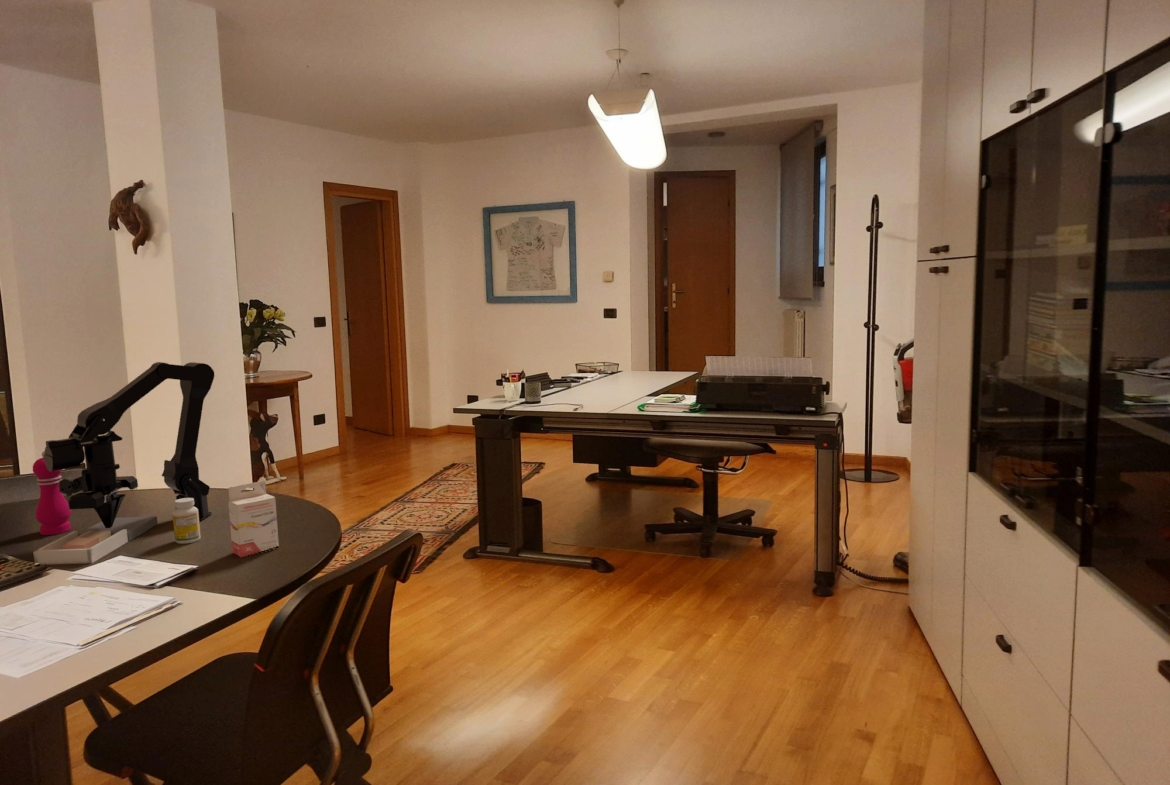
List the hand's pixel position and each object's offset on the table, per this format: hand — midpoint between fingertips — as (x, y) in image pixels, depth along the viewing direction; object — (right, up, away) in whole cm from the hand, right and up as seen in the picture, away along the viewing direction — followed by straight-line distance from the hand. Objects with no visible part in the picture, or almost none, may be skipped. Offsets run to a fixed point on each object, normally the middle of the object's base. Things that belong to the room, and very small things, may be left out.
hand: (108, 527), depth 186 cm
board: (0, -2, +4) cm, 5 cm away
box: (0, -4, -10) cm, 10 cm away
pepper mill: (-17, -2, +7) cm, 19 cm away
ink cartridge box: (+39, -3, -11) cm, 41 cm away
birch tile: (0, -3, -5) cm, 6 cm away
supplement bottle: (+20, -3, -3) cm, 20 cm away
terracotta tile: (0, -4, -10) cm, 11 cm away
